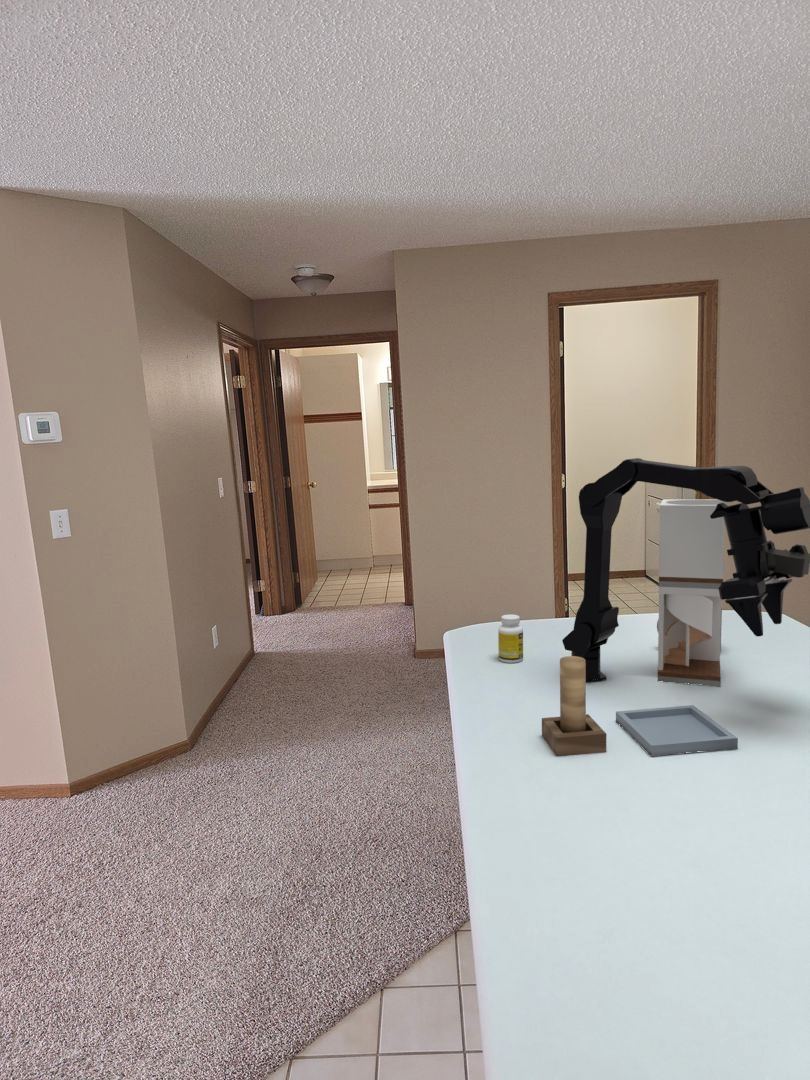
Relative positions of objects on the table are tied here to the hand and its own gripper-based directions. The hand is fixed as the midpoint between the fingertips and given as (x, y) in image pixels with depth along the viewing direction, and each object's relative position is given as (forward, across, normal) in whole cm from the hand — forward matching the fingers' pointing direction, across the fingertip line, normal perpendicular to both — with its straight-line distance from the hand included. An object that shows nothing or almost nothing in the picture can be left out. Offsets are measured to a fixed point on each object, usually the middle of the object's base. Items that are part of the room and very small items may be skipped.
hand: (769, 629), depth 124 cm
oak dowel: (+10, -29, +23) cm, 39 cm away
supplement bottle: (+2, 0, +55) cm, 55 cm away
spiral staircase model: (+11, +13, +22) cm, 28 cm away
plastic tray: (+13, -16, +13) cm, 24 cm away
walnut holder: (+10, -29, +23) cm, 39 cm away
